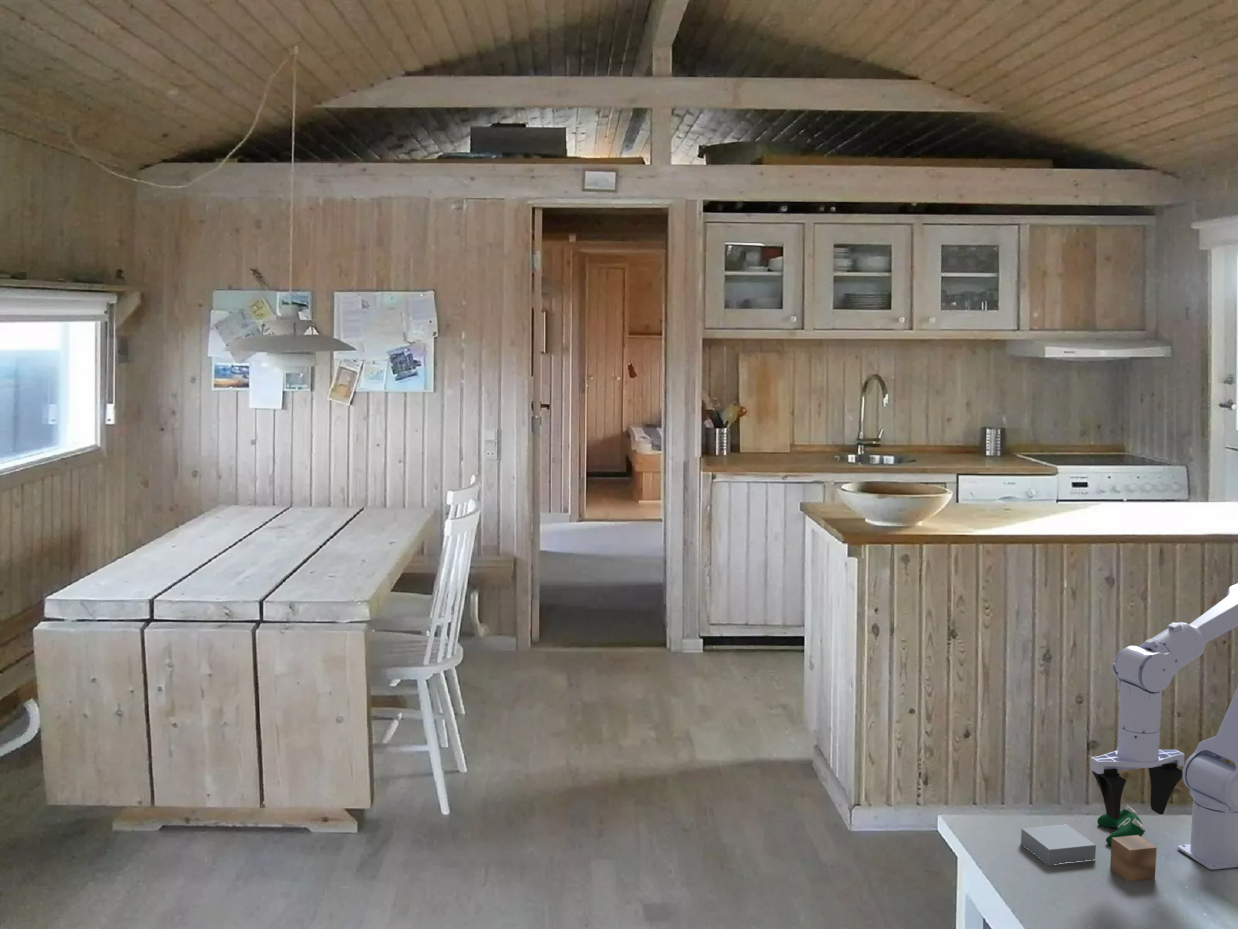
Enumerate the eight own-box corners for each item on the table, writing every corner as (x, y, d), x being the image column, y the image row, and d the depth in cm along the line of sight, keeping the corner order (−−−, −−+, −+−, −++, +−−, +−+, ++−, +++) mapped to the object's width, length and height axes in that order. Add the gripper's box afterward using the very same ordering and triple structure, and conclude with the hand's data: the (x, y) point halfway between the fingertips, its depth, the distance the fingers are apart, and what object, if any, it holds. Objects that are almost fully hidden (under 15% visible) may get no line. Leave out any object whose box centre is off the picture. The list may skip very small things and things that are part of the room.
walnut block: (1136, 865, 185) (1137, 834, 185) (1154, 879, 181) (1156, 847, 180) (1110, 868, 184) (1111, 837, 184) (1128, 882, 180) (1129, 850, 179)
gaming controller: (1121, 859, 192) (1151, 836, 190) (1104, 842, 192) (1134, 819, 191) (1110, 835, 201) (1138, 813, 199) (1094, 818, 201) (1122, 796, 199)
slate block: (1065, 841, 195) (1066, 824, 194) (1094, 863, 187) (1095, 845, 187) (1020, 846, 193) (1021, 828, 193) (1048, 868, 185) (1049, 849, 185)
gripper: (1164, 715, 185) (1160, 799, 187) (1080, 722, 182) (1076, 807, 184) (1195, 730, 178) (1190, 817, 180) (1108, 737, 175) (1104, 826, 177)
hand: (1135, 814), depth 182 cm, fingers open, 7 cm apart
